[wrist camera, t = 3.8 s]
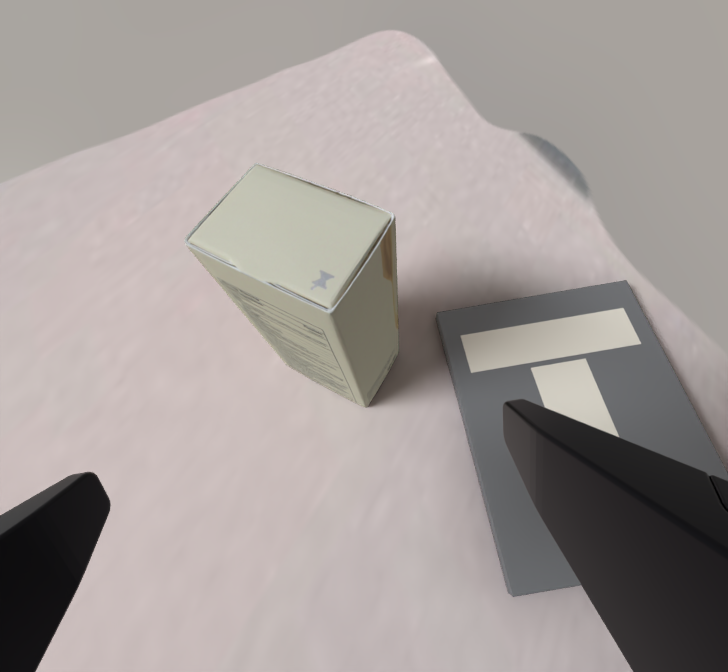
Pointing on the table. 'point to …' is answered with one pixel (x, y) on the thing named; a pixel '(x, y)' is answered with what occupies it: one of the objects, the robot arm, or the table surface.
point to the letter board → (562, 402)
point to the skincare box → (308, 275)
